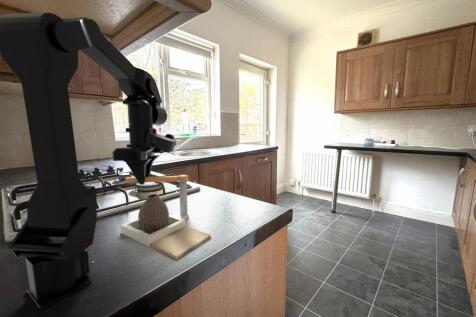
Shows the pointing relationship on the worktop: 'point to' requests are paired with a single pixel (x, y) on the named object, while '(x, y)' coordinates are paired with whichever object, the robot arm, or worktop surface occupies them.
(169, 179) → the orange flat bar
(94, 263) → the worktop surface
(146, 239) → the socket
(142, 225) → the vase
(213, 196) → the worktop surface
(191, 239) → the mat
